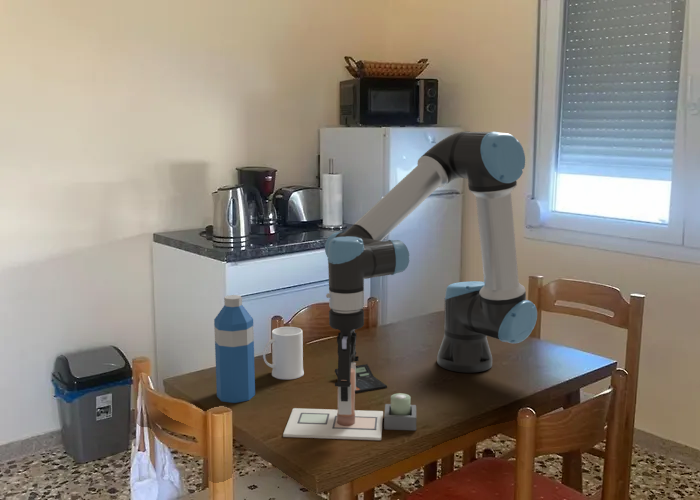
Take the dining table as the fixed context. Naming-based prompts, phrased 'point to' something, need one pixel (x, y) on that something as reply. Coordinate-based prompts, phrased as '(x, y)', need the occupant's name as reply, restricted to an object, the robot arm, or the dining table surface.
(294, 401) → the dining table surface
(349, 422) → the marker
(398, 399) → the button
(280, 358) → the mug
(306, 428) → the picture sheet
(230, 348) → the water bottle
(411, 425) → the button housing
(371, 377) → the calculator
